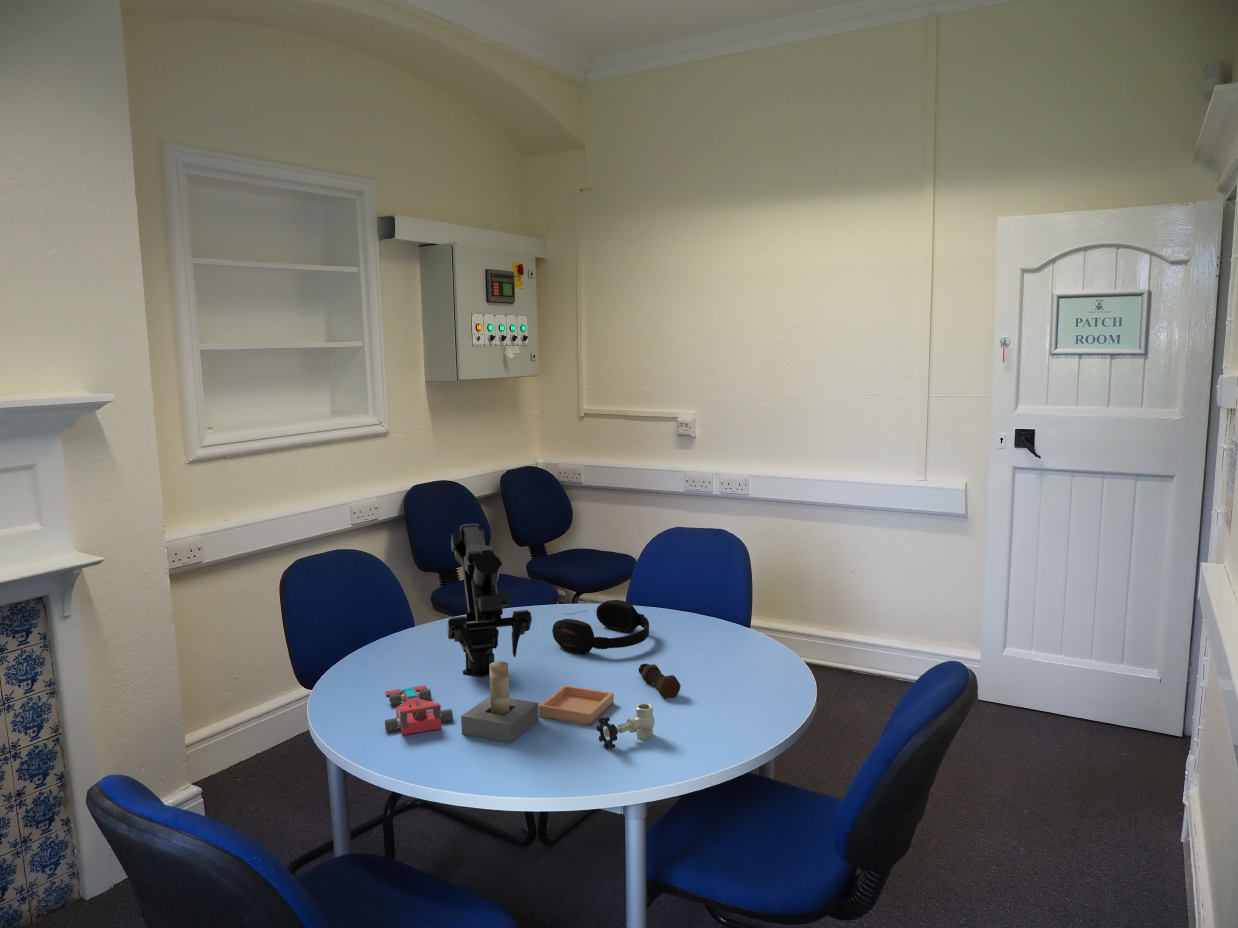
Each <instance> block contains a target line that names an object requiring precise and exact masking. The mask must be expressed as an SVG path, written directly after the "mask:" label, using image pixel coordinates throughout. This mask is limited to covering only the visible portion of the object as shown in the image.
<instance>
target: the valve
mask: <svg viewBox="0 0 1238 928" xmlns="http://www.w3.org/2000/svg"><path fill="white" fill-rule="evenodd" d="M635 706H636V707H635V709H636V715H635V717H629V718H627V719H626V722H624V723H620V724H617V726H616V725H615V724H614V723H612V724H610V723H609V722H610V721H611V719H610V717H609V716H605V717H604V716H602V717H599V718H598V719H597V721H598V725H596V731H597V732H599V734H600V735H599V736H598V741H599V742H600V743H602V742H603V748H604V749H605V750H607V749H610V750H612V749H615V748H616V744H615V743H613V742H615V741H618V734H622V733H626V732H629V733H630V734H634V733H636V738H637V739H639V740H644V741H647V740H650V739H653V738H654V730H653V729H654V727H655V717H654V716H655V715H654V712H653V711H654V708H653V705H652V704H650V703H647V702H643V703H639V704H637V705H635ZM604 727H606V728H604ZM607 738H609V739H607Z"/></svg>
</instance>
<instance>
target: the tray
mask: <svg viewBox="0 0 1238 928" xmlns="http://www.w3.org/2000/svg"><path fill="white" fill-rule="evenodd" d="M614 695H615V694H614V692H609V691H605V690H597V689H590V688H585V687H580V686H571V685H567V684H564V685H563V686H562V687H560V688H559V689H558V690H557V691H555V692H554V693H553V694H552V695H550V696H549V697H547V698H546V699H545V700H544V701H543V702H542V703H540V704H538V716H539V717H541V718H546V719H552V720H558V721H563V722H568V723H574V724H580V725H584V726H585V725H586V726H591V725H592V724H594V723H595V722H596V721H598V719H599V718H601V716H602V715H603V714H605V712H607V710H608V709H610V708H611V706H613V705H614V703H615V702H614V701H615V700H614V697H615V696H614Z"/></svg>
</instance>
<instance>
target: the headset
mask: <svg viewBox="0 0 1238 928" xmlns="http://www.w3.org/2000/svg"><path fill="white" fill-rule="evenodd" d="M584 612H587V610H585V611H582V613H584ZM579 613H580V611H578V612H573V613H571V615H574V614H579ZM595 613H596V618H597V620H598V622H600V624H601V625H603V627H605V628H607V629H609V630H612V631H614V632H619V633H623V634H627V635H622V636H617V637H607V636H595V633H594V631H593V628H592V626H591V625H590V624H589V623H587V622H585V621H581V620H578V619H574V618H564V619H559V620H557V621H555V622H554V624H552V625H553V626H552V629H551V631H552V637H553V638H554V640H555V642H556V644H557V645H558V646H559V647H560V648H561V649H562V650H563V651H565V652H567V653H571V654H574V655H586V654H588V653H589V652H591V651H592V649H595V650H608V649H619V648H620V649H621V648H626V647H632V646H636V645H638V644H641V643H642V642H644V641H646V639H648V637H649V634H650V622H649V619H648V618H647V617H646V616H645V615H644V613H643V614H642V613H638V611H637V610H636V608H635V607H634V605H633V604H632V603H630V602H627V601H625V600H621V599H610V600H606V601H603V602H602V603H600V604H599V605H598V606H596V611H595ZM563 614H564V615H570V613H566V614H565V613H563ZM639 626H640V627H642V629H641V630H639V631H637V632H634V631H635V630H636V629H637V628H638V627H639ZM633 632H634V633H633ZM629 633H632V634H629Z"/></svg>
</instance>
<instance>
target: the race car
mask: <svg viewBox="0 0 1238 928" xmlns="http://www.w3.org/2000/svg"><path fill="white" fill-rule="evenodd" d="M388 695H389V696H388ZM385 696H386V697H389V703H390V702H391V704H390V707H395V714H396V717H394V718H388V719H384V727H385V732H386V733H392V732H397V731H396V730H399V729H400V732H401V735H402V736H404V735H410V734H417V733H423V732H428V731H432V730H433V731H434V730H440V729H442V723H443V722H444V723H449V721H450V722H453V721H454V714H453V710H452V708H449V709H443V710H442V709H441V704H440V703H439V702H436V703H435V702H434V701H432V691H431V688H427V685H423V684H422V685H419V686H418V685H417V686H411V687H410V686H409V687H404V688H400V689H399V688H398V689H393V690H386V691H385ZM420 698H421V699H420ZM427 700H428V701H427ZM402 702H403V703H402ZM400 704H401V705H400ZM394 705H397V707H396V706H394ZM444 723H443V724H444Z"/></svg>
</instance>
